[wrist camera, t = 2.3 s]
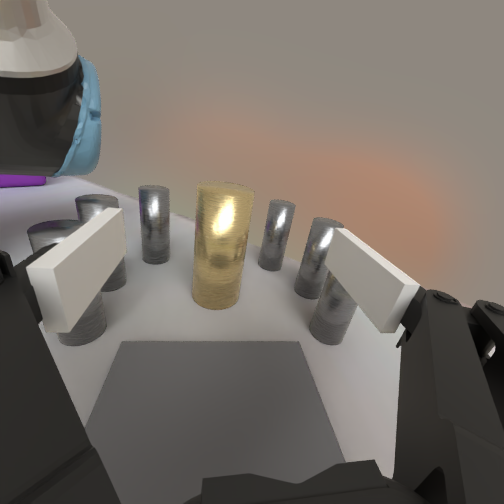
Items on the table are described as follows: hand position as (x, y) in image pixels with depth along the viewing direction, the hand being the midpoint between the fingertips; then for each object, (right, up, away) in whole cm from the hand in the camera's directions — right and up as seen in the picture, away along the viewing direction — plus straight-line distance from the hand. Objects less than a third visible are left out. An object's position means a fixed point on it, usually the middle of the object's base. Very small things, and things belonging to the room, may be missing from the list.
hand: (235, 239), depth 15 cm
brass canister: (-3, -6, +14) cm, 16 cm away
